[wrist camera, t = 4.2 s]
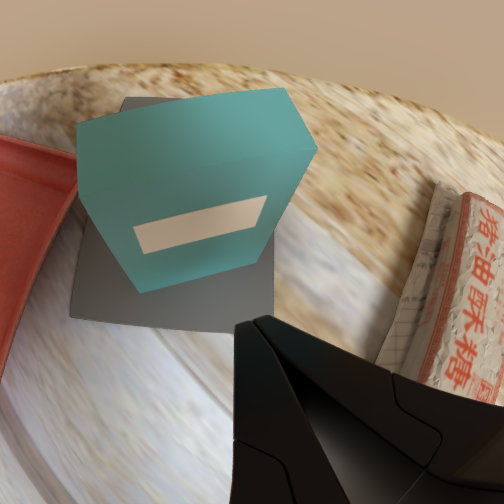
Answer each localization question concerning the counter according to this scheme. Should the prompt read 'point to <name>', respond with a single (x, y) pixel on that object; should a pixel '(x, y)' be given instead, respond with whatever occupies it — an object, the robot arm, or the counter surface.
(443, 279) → the packaged product
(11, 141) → the plant saucer
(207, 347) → the counter surface
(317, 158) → the counter surface
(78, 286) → the mat
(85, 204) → the box
